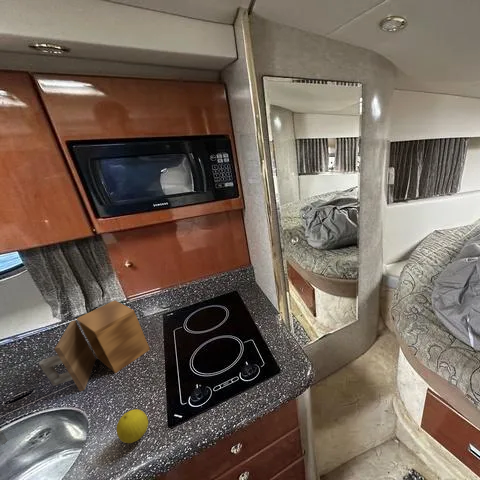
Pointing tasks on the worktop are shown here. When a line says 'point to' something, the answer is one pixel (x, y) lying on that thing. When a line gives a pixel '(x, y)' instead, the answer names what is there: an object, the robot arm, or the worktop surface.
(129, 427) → the lemon
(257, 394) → the worktop surface
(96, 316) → the cupboard
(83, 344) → the cupboard door
